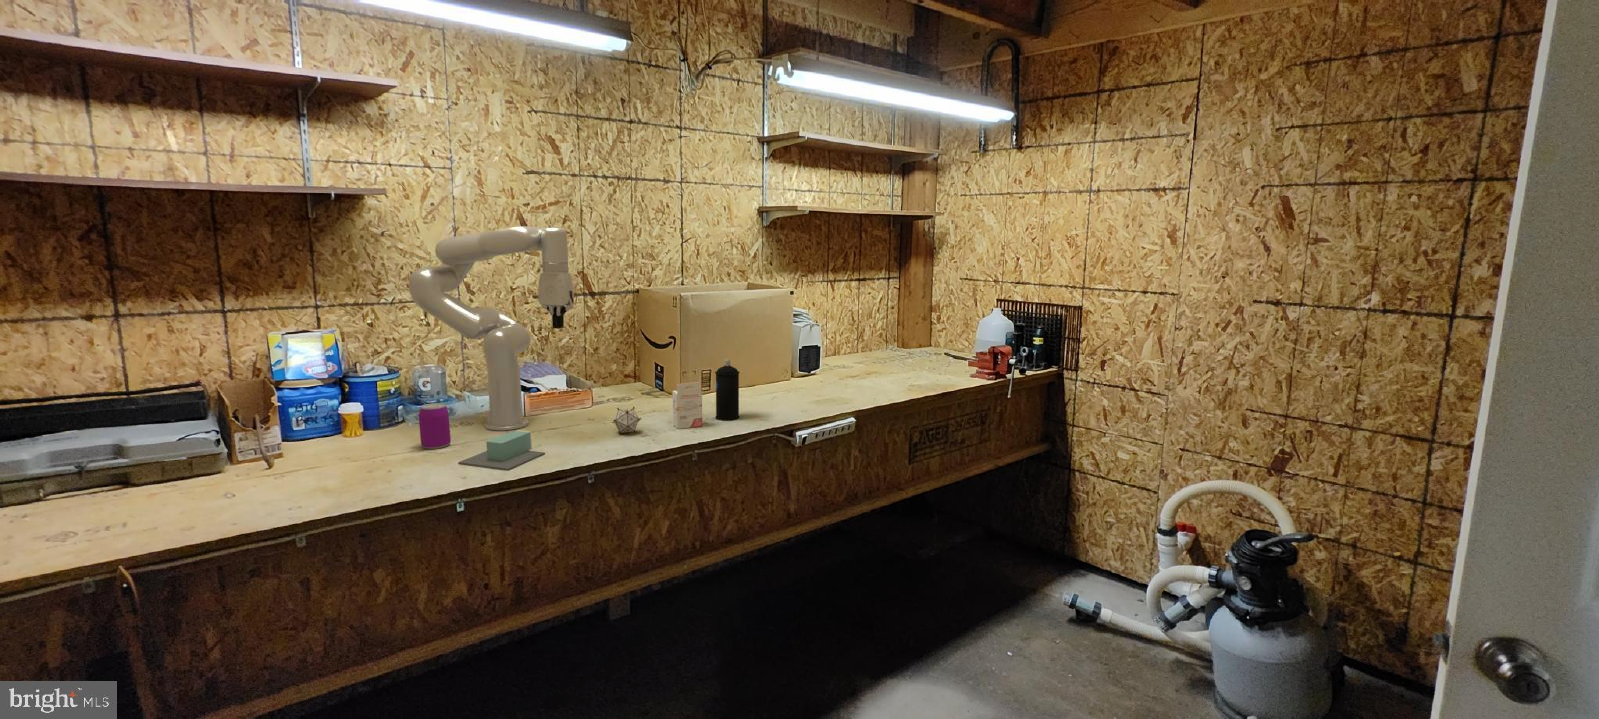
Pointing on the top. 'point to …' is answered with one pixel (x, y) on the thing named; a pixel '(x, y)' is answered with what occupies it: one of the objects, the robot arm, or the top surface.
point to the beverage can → (434, 426)
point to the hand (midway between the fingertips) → (558, 327)
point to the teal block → (509, 445)
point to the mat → (508, 464)
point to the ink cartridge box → (687, 406)
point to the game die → (626, 420)
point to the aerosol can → (727, 392)
